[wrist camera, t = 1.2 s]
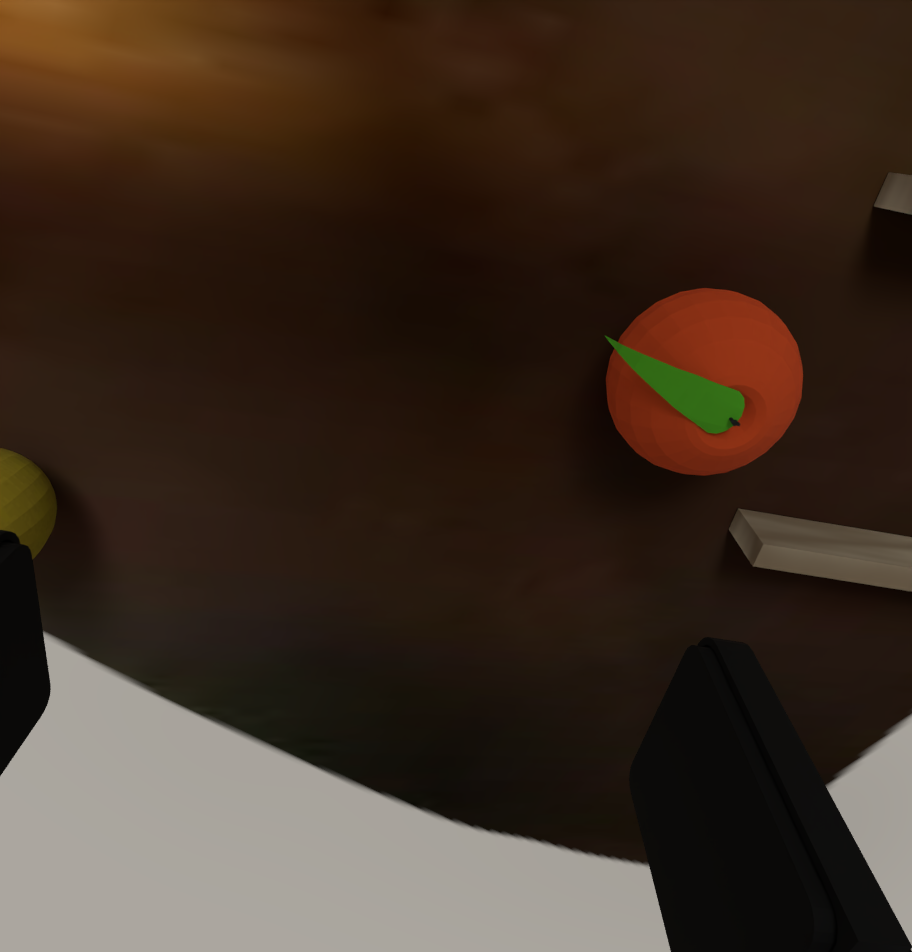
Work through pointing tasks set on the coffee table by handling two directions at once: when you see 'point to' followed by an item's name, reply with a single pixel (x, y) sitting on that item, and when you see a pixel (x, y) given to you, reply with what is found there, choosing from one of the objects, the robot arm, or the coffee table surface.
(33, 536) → the lemon
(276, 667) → the coffee table surface
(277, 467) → the coffee table surface
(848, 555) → the corral
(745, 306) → the clementine
